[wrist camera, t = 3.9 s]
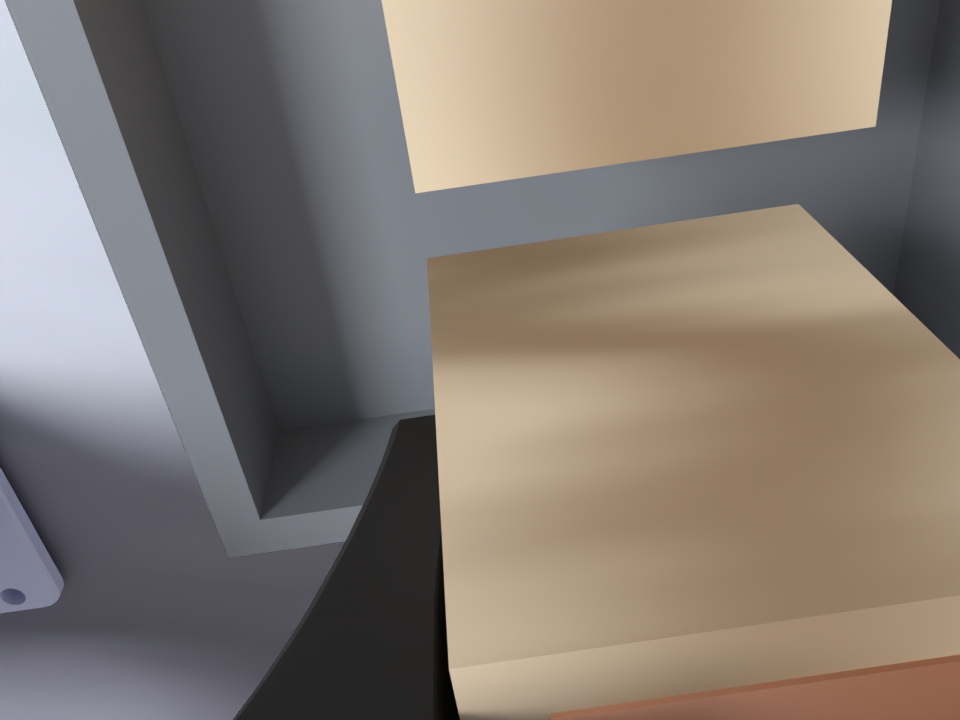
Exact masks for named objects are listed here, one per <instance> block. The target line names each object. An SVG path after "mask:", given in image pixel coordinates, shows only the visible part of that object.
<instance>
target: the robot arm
mask: <svg viewBox="0 0 960 720" xmlns="http://www.w3.org/2000/svg"><path fill="white" fill-rule="evenodd" d="M63 587H64V582H63V578H62V577H61V575H60V573H59V571H58V569H57V568H56V566H55V564H54V562H53V560H52V559H51V557H50V555H49V553H48V552H47V550H46V548H45V546H44V544H43V543H42V541H41V539H40V537H39V535H38V534H37V532H36V530H35V528H34V527H33V525H32V523H31V521H30V519H29V518H28V516H27V514H26V512H25V510H24V509H23V507H22V505H21V503H20V502H19V500H18V498H17V496H16V494H15V493H14V491H13V489H12V487H11V485H10V484H9V482H8V480H7V478H6V477H5V475H4V473H3V471H2V469H1V468H0V613H7V612H14V611H21V610H28V609H35V608H42V607H47V606H50V605H53V604H54V603H55V602H57V601H58V599H59V597H60V595H61V592H62V590H63ZM14 589H16V590H14ZM17 590H19V591H17ZM233 720H460V717H459V712H458V708H457V704H456V699H455V695H454V690H453V686H452V681H451V677H450V672H449V663H448V644H447V625H446V606H445V588H444V569H443V550H442V531H441V513H440V494H439V475H438V456H437V438H436V419H435V415H428V416H422V417H415V418H408V419H401V420H399V421H398V423H397V424H396V425H395V426H394V427H393V429H392V432H391V435H390V438H389V442H388V444H387V447H386V450H385V453H384V456H383V458H382V461H381V464H380V466H379V469H378V471H377V474H376V476H375V479H374V481H373V483H372V486H371V488H370V490H369V493H368V495H367V497H366V500H365V502H364V504H363V506H362V508H361V510H360V512H359V514H358V516H357V518H356V521H355V523H354V525H353V527H352V529H351V531H350V533H349V535H348V537H347V539H346V541H345V543H344V545H343V547H342V549H341V551H340V553H339V555H338V557H337V559H336V561H335V562H334V564H333V566H332V568H331V569H330V571H329V573H328V575H327V577H326V578H325V580H324V582H323V584H322V585H321V587H320V589H319V591H318V593H317V594H316V596H315V598H314V600H313V602H312V603H311V605H310V607H309V609H308V610H307V612H306V614H305V615H304V617H303V618H302V620H301V622H300V623H299V625H298V627H297V628H296V630H295V631H294V633H293V635H292V636H291V638H290V639H289V641H288V642H287V644H286V645H285V647H284V648H283V650H282V652H281V653H280V655H279V656H278V658H277V659H276V660H275V662H274V663H273V665H272V666H271V668H270V669H269V671H268V672H267V674H266V675H265V677H264V678H263V679H262V681H261V682H260V684H259V685H258V687H257V688H256V689H255V691H254V692H253V694H252V695H251V696H250V698H249V699H248V700H247V702H246V703H245V704H244V706H243V707H242V708H241V710H240V711H239V712H238V714H237V715H236V716H235V718H234V719H233Z"/></svg>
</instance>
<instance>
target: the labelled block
mask: <svg viewBox="0 0 960 720" xmlns="http://www.w3.org/2000/svg"><path fill="white" fill-rule="evenodd" d="M427 269H428V288H429V306H430V325H431V344H432V363H433V381H434V400H435V419H436V438H437V456H438V475H439V494H440V513H441V531H442V550H443V569H444V588H445V606H446V625H447V644H448V663H449V672H450V677H451V681H452V686H453V690H454V695H455V699H456V704H457V708H458V712H459V717H460V720H960V359H959V358H958V357H957V356H956V355H955V354H954V353H953V352H952V351H951V350H950V349H948V348H947V347H946V346H945V345H944V344H943V343H942V342H941V341H940V340H939V339H938V338H937V337H936V336H935V335H934V334H933V333H932V332H931V331H930V330H929V329H928V328H927V327H926V326H925V325H924V324H923V323H922V322H920V321H919V320H918V319H917V318H916V317H915V316H914V315H913V314H912V313H911V312H910V311H909V310H908V309H907V308H906V307H905V306H904V305H903V304H902V303H901V302H900V301H899V300H898V299H897V298H896V297H895V296H894V295H892V294H891V293H890V292H889V291H888V290H887V289H886V288H885V287H884V286H883V285H882V284H881V283H880V282H879V281H878V280H877V279H876V278H875V277H874V276H873V275H872V274H871V273H870V272H869V271H868V270H867V269H866V268H864V267H863V266H862V265H861V264H860V263H859V262H858V261H857V260H856V259H855V258H854V257H853V256H852V255H851V254H850V253H849V252H848V251H847V250H846V249H845V248H844V247H843V246H842V245H841V244H840V243H839V242H838V241H837V240H835V239H834V238H833V237H832V236H831V235H830V234H829V233H828V232H827V231H826V230H825V229H824V228H823V227H822V226H821V225H820V224H819V223H818V222H817V221H816V220H815V219H814V218H813V217H812V216H811V215H810V214H809V213H807V212H806V211H805V210H804V209H803V208H802V207H801V206H800V205H799V204H794V205H787V206H780V207H773V208H766V209H760V210H753V211H746V212H739V213H732V214H725V215H719V216H712V217H705V218H698V219H691V220H684V221H678V222H671V223H664V224H657V225H650V226H643V227H637V228H630V229H623V230H616V231H609V232H602V233H596V234H589V235H582V236H575V237H568V238H561V239H555V240H548V241H541V242H534V243H527V244H520V245H514V246H507V247H500V248H493V249H486V250H479V251H473V252H466V253H459V254H452V255H445V256H439V257H432V258H427Z"/></svg>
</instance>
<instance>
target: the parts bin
mask: <svg viewBox="0 0 960 720" xmlns="http://www.w3.org/2000/svg"><path fill="white" fill-rule="evenodd" d="M5 2H6V5H7V7H8V10H9V12H10V15H11V17H12V20H13V22H14V25H15V27H16V30H17V32H18V35H19V37H20V40H21V42H22V45H23V47H24V50H25V52H26V55H27V57H28V60H29V62H30V65H31V67H32V70H33V72H34V75H35V77H36V80H37V82H38V85H39V87H40V90H41V92H42V95H43V97H44V100H45V102H46V105H47V107H48V110H49V112H50V115H51V117H52V120H53V122H54V125H55V127H56V130H57V132H58V135H59V137H60V140H61V142H62V144H63V147H64V149H65V152H66V154H67V157H68V159H69V162H70V164H71V167H72V169H73V172H74V174H75V177H76V179H77V182H78V184H79V187H80V189H81V192H82V194H83V197H84V199H85V202H86V204H87V207H88V209H89V212H90V214H91V217H92V219H93V222H94V224H95V227H96V229H97V232H98V234H99V237H100V239H101V242H102V244H103V247H104V249H105V252H106V254H107V257H108V259H109V262H110V264H111V267H112V269H113V272H114V274H115V277H116V279H117V282H118V284H119V287H120V289H121V292H122V294H123V297H124V299H125V302H126V304H127V307H128V309H129V312H130V314H131V317H132V319H133V322H134V324H135V327H136V329H137V332H138V334H139V337H140V339H141V342H142V344H143V347H144V349H145V352H146V354H147V357H148V359H149V361H150V364H151V366H152V369H153V371H154V374H155V376H156V379H157V381H158V384H159V386H160V389H161V391H162V394H163V396H164V399H165V401H166V404H167V406H168V409H169V411H170V414H171V416H172V419H173V421H174V424H175V426H176V429H177V431H178V434H179V436H180V439H181V441H182V444H183V446H184V449H185V451H186V454H187V456H188V459H189V461H190V464H191V466H192V469H193V471H194V474H195V476H196V479H197V481H198V484H199V486H200V489H201V491H202V494H203V496H204V499H205V501H206V504H207V506H208V509H209V511H210V514H211V516H212V519H213V521H214V524H215V526H216V529H217V531H218V534H219V536H220V539H221V541H222V544H223V546H224V549H225V551H226V554H227V556H228V558H234V557H241V556H248V555H255V554H262V553H269V552H276V551H283V550H290V549H297V548H304V547H311V546H318V545H325V544H332V543H339V542H345V541H346V539H347V537H348V535H349V533H350V531H351V529H352V527H353V525H354V523H355V521H356V518H357V516H358V514H359V512H360V510H361V508H362V506H363V504H364V502H365V500H366V497H367V495H368V493H369V490H370V488H371V486H372V483H373V481H374V479H375V476H376V474H377V471H378V469H379V466H380V464H381V461H382V458H383V456H384V453H385V450H386V447H387V444H388V442H389V438H390V435H391V432H392V429H393V427H394V426H395V425H396V424H397V423H398V421H399V420H401V419H408V418H415V417H422V416H428V415H435V400H434V381H433V363H432V344H431V325H430V306H429V288H428V269H427V258H432V257H439V256H445V255H452V254H459V253H466V252H473V251H479V250H486V249H493V248H500V247H507V246H514V245H520V244H527V243H534V242H541V241H548V240H555V239H561V238H568V237H575V236H582V235H589V234H596V233H602V232H609V231H616V230H623V229H630V228H637V227H643V226H650V225H657V224H664V223H671V222H678V221H684V220H691V219H698V218H705V217H712V216H719V215H725V214H732V213H739V212H746V211H753V210H760V209H766V208H773V207H780V206H787V205H794V204H799V205H800V206H801V207H802V208H803V209H804V210H805V211H806V212H807V213H809V214H810V215H811V216H812V217H813V218H814V219H815V220H816V221H817V222H818V223H819V224H820V225H821V226H822V227H823V228H824V229H825V230H826V231H827V232H828V233H829V234H830V235H831V236H832V237H833V238H834V239H835V240H837V241H838V242H839V243H840V244H841V245H842V246H843V247H844V248H845V249H846V250H847V251H848V252H849V253H850V254H851V255H852V256H853V257H854V258H855V259H856V260H857V261H858V262H859V263H860V264H861V265H862V266H863V267H864V268H866V269H867V270H868V271H869V272H870V273H871V274H872V275H873V276H874V277H875V278H876V279H877V280H878V281H879V282H880V283H881V284H882V285H883V286H884V287H885V288H886V289H887V290H888V291H889V292H890V293H891V294H892V295H894V296H895V297H896V298H897V299H898V300H899V301H900V302H901V303H902V304H903V305H904V306H905V307H906V308H907V309H908V310H909V311H910V312H911V313H912V314H913V315H914V316H915V317H916V318H917V319H918V320H919V321H920V322H922V323H923V324H924V325H925V326H926V327H927V328H928V329H929V330H930V331H931V332H932V333H933V334H934V335H935V336H936V337H937V338H938V339H939V340H940V341H941V342H942V343H943V344H944V345H945V346H946V347H947V348H948V349H950V350H951V351H952V352H953V353H954V354H955V355H956V356H957V357H958V358H959V359H960V0H892V5H891V13H890V20H889V28H888V36H887V43H886V51H885V59H884V66H883V74H882V81H881V89H880V97H879V104H878V112H877V120H876V127H869V128H862V129H855V130H848V131H841V132H834V133H828V134H821V135H814V136H807V137H800V138H793V139H786V140H779V141H772V142H766V143H759V144H752V145H745V146H738V147H731V148H724V149H717V150H711V151H704V152H697V153H690V154H683V155H676V156H669V157H662V158H656V159H649V160H642V161H635V162H628V163H621V164H614V165H607V166H601V167H594V168H587V169H580V170H573V171H566V172H559V173H552V174H546V175H539V176H532V177H525V178H518V179H511V180H504V181H497V182H491V183H484V184H477V185H470V186H463V187H456V188H449V189H442V190H435V191H429V192H422V193H415V188H414V183H413V177H412V171H411V166H410V160H409V154H408V148H407V143H406V137H405V131H404V126H403V120H402V114H401V108H400V103H399V97H398V91H397V86H396V80H395V74H394V69H393V63H392V57H391V51H390V46H389V40H388V34H387V29H386V23H385V17H384V11H383V6H382V0H5Z"/></svg>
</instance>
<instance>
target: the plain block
mask: <svg viewBox="0 0 960 720" xmlns="http://www.w3.org/2000/svg"><path fill="white" fill-rule="evenodd" d="M891 5H892V0H382V6H383V11H384V17H385V23H386V29H387V34H388V40H389V46H390V51H391V57H392V63H393V69H394V74H395V80H396V86H397V91H398V97H399V103H400V108H401V114H402V120H403V126H404V131H405V137H406V143H407V148H408V154H409V160H410V166H411V171H412V177H413V183H414V188H415V193H422V192H429V191H435V190H442V189H449V188H456V187H463V186H470V185H477V184H484V183H491V182H497V181H504V180H511V179H518V178H525V177H532V176H539V175H546V174H552V173H559V172H566V171H573V170H580V169H587V168H594V167H601V166H607V165H614V164H621V163H628V162H635V161H642V160H649V159H656V158H662V157H669V156H676V155H683V154H690V153H697V152H704V151H711V150H717V149H724V148H731V147H738V146H745V145H752V144H759V143H766V142H772V141H779V140H786V139H793V138H800V137H807V136H814V135H821V134H828V133H834V132H841V131H848V130H855V129H862V128H869V127H876V120H877V112H878V104H879V97H880V89H881V81H882V74H883V66H884V59H885V51H886V43H887V36H888V28H889V20H890V13H891Z"/></svg>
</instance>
